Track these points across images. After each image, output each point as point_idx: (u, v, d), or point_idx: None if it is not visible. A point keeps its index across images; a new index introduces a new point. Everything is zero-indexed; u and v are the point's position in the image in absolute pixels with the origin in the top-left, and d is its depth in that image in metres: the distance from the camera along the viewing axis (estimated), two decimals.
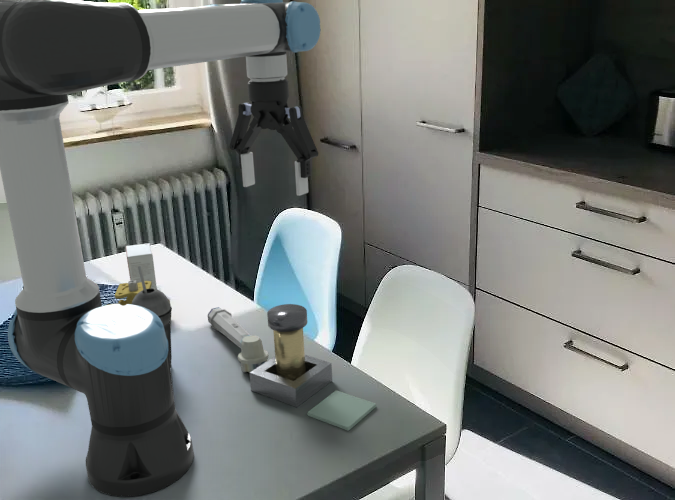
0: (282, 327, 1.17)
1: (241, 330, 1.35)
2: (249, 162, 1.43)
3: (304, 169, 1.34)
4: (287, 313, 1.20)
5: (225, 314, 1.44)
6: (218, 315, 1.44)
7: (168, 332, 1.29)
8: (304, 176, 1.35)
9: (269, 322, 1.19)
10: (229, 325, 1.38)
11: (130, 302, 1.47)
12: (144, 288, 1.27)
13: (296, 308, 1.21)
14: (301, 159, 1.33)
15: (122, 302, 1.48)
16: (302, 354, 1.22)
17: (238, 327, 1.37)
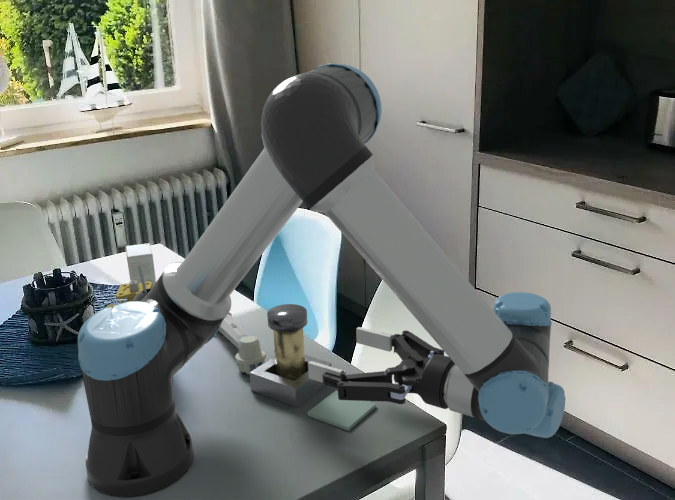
0: (282, 327, 1.17)
1: (239, 330, 1.35)
2: (380, 343, 1.19)
3: (331, 377, 1.07)
4: (287, 313, 1.20)
5: None
6: None
7: None
8: (324, 375, 1.08)
9: (269, 322, 1.19)
10: (228, 325, 1.38)
11: None
12: (144, 288, 1.27)
13: (296, 308, 1.21)
14: (342, 375, 1.06)
15: None
16: (302, 354, 1.22)
17: (237, 327, 1.37)
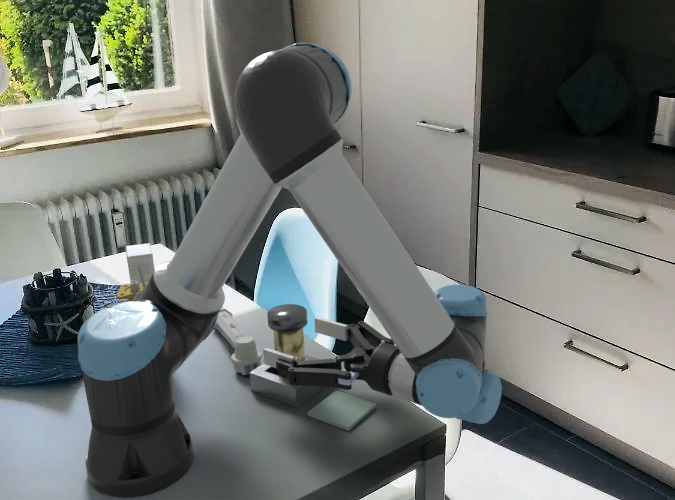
0: (282, 327, 1.17)
1: (237, 330, 1.35)
2: (336, 332, 1.24)
3: (283, 363, 1.13)
4: (287, 313, 1.20)
5: (225, 314, 1.44)
6: (218, 314, 1.45)
7: None
8: (277, 361, 1.13)
9: (269, 322, 1.19)
10: (227, 325, 1.38)
11: None
12: (144, 288, 1.27)
13: (296, 308, 1.21)
14: (293, 362, 1.11)
15: None
16: (302, 354, 1.22)
17: (235, 327, 1.37)
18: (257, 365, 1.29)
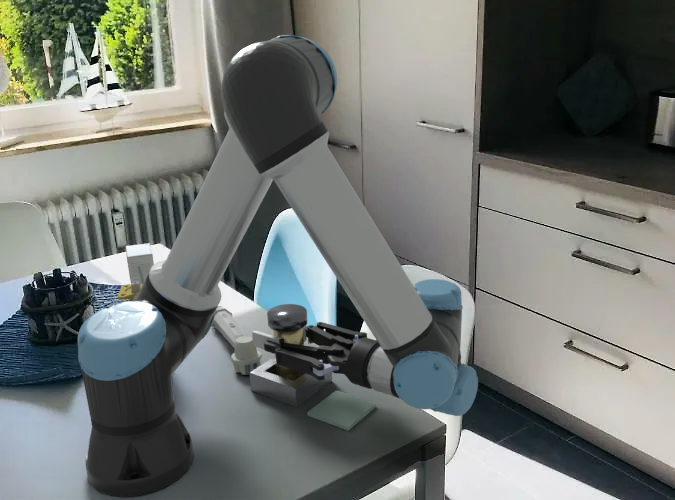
0: (282, 327, 1.17)
1: (237, 330, 1.35)
2: None
3: (271, 344, 1.19)
4: (287, 313, 1.20)
5: (225, 313, 1.44)
6: (218, 314, 1.45)
7: None
8: (265, 342, 1.19)
9: (269, 322, 1.19)
10: (226, 325, 1.39)
11: None
12: None
13: (296, 308, 1.21)
14: (279, 342, 1.17)
15: None
16: None
17: (235, 327, 1.37)
18: (257, 365, 1.29)
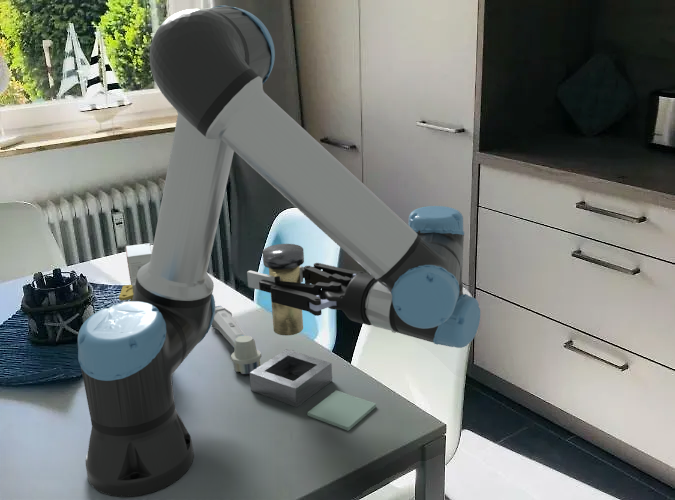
0: (278, 264, 1.14)
1: (237, 330, 1.35)
2: None
3: (266, 283, 1.15)
4: (283, 251, 1.16)
5: (224, 313, 1.45)
6: (218, 314, 1.45)
7: None
8: (260, 281, 1.16)
9: (264, 260, 1.15)
10: (226, 324, 1.39)
11: None
12: None
13: (293, 247, 1.18)
14: (274, 280, 1.13)
15: None
16: None
17: (234, 326, 1.37)
18: (257, 364, 1.29)
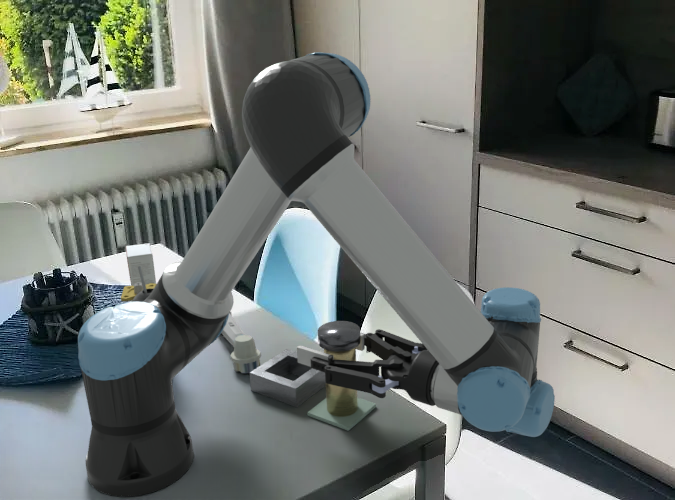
0: (335, 346, 1.09)
1: (236, 329, 1.36)
2: None
3: (319, 361, 1.08)
4: (339, 331, 1.11)
5: None
6: None
7: None
8: (312, 359, 1.09)
9: (320, 341, 1.11)
10: (226, 324, 1.39)
11: None
12: (144, 288, 1.27)
13: (348, 325, 1.13)
14: (328, 359, 1.07)
15: None
16: None
17: (234, 326, 1.37)
18: (256, 363, 1.29)
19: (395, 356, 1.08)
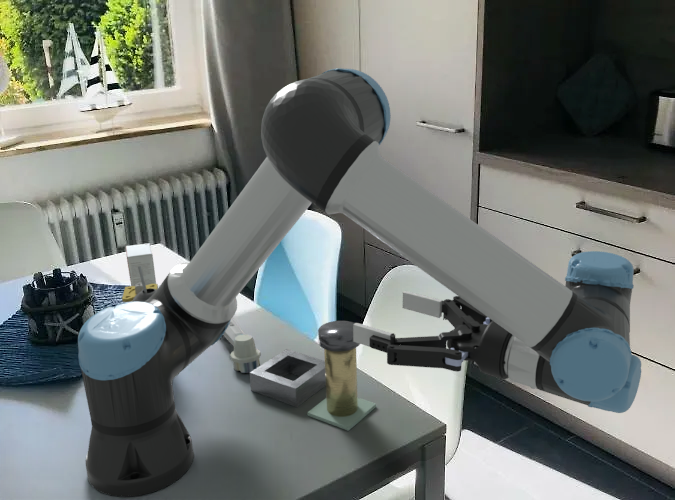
0: (335, 346, 1.09)
1: (236, 329, 1.36)
2: (429, 308, 1.10)
3: (379, 340, 0.99)
4: (339, 331, 1.11)
5: None
6: None
7: None
8: (371, 337, 0.99)
9: (321, 341, 1.11)
10: None
11: None
12: (144, 288, 1.27)
13: (349, 325, 1.13)
14: (392, 338, 0.97)
15: None
16: (355, 375, 1.13)
17: (234, 325, 1.37)
18: (256, 363, 1.30)
19: (464, 325, 1.02)
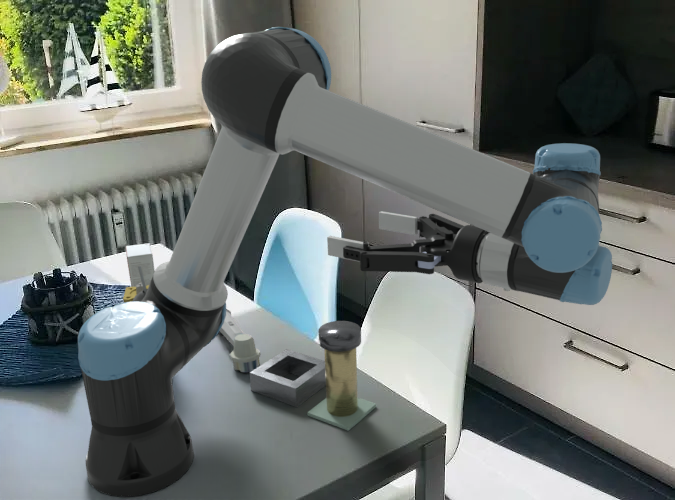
0: (335, 347, 1.09)
1: (236, 328, 1.36)
2: (404, 226, 1.10)
3: (353, 249, 0.99)
4: (340, 331, 1.11)
5: None
6: None
7: None
8: (345, 247, 0.99)
9: (321, 341, 1.10)
10: (225, 323, 1.39)
11: None
12: (144, 288, 1.27)
13: (349, 325, 1.13)
14: (364, 245, 0.97)
15: None
16: (355, 375, 1.13)
17: (233, 325, 1.38)
18: (256, 362, 1.30)
19: (438, 235, 1.02)
